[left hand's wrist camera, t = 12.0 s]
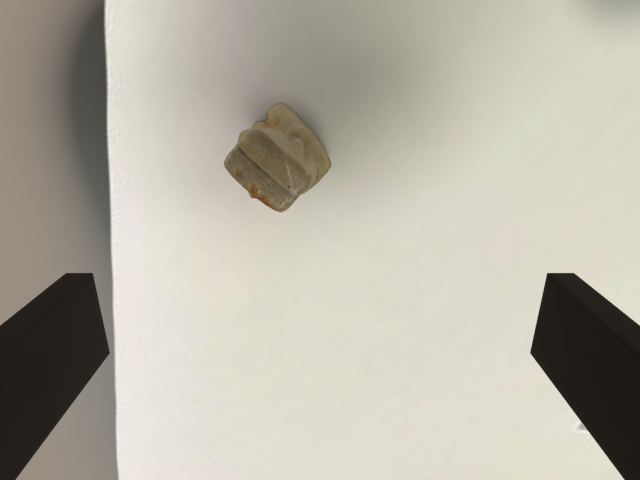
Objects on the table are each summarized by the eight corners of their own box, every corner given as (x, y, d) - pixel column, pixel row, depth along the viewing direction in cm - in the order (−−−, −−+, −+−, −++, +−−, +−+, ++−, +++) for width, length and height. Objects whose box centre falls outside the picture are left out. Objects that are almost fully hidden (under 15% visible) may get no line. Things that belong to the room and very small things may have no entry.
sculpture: (288, 90, 38) (271, 101, 24) (341, 151, 40) (354, 194, 26) (242, 135, 40) (200, 170, 26) (295, 192, 41) (284, 253, 28)
